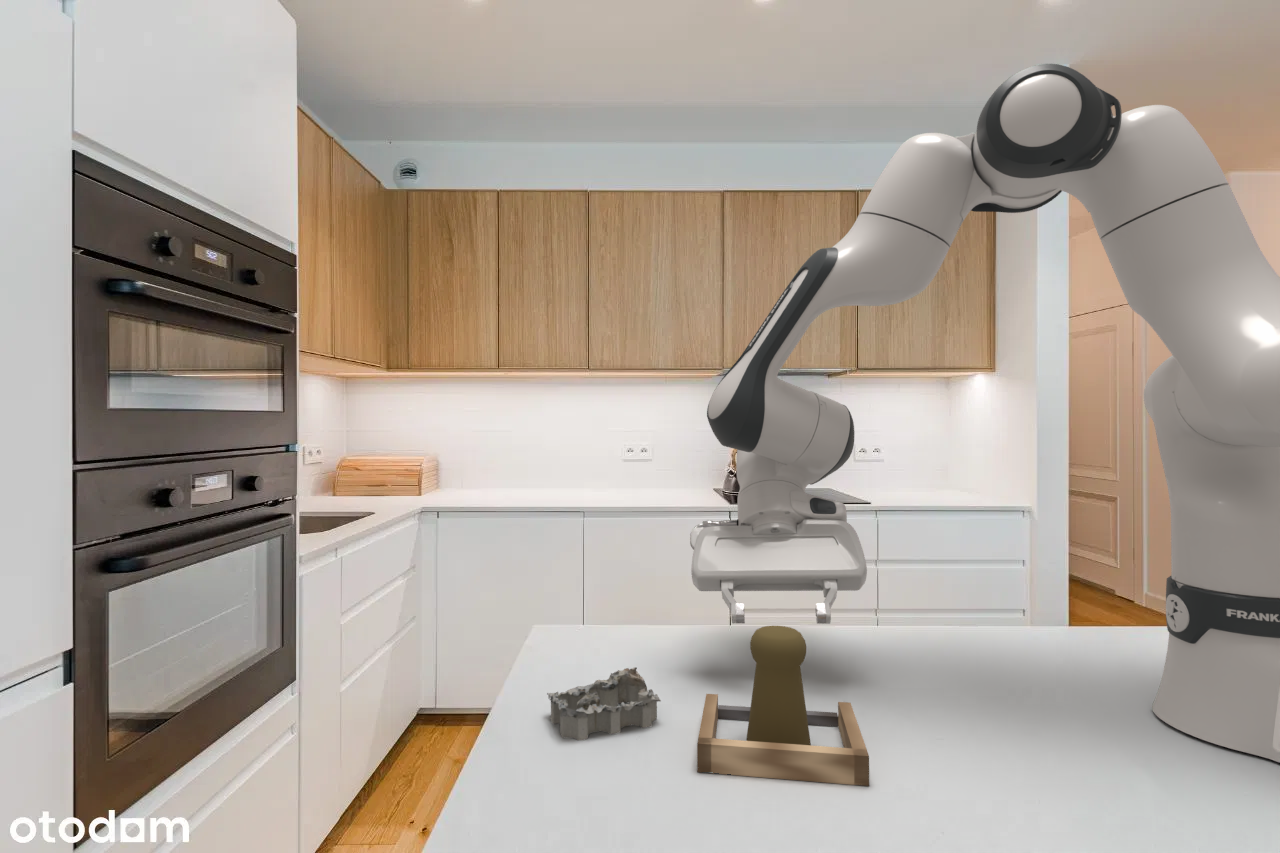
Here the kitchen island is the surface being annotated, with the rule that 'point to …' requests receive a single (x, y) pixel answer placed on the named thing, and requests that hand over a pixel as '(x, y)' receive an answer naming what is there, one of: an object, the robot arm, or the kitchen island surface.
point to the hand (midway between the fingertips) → (780, 621)
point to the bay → (784, 749)
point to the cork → (778, 687)
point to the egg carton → (604, 706)
